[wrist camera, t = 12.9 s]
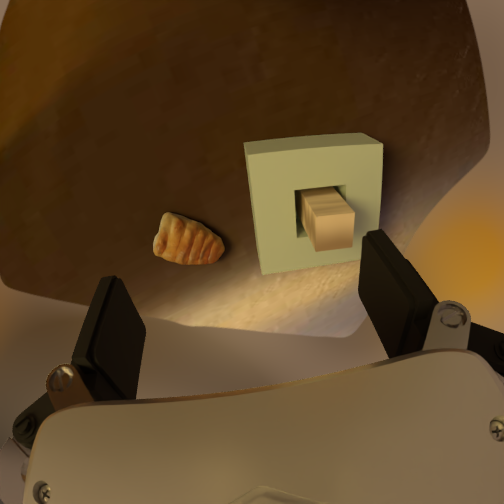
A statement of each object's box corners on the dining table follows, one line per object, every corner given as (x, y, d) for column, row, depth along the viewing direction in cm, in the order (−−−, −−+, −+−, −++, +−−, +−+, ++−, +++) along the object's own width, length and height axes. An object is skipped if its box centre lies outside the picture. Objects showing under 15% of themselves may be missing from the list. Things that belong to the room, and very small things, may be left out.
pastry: (231, 227, 42) (232, 241, 39) (215, 266, 45) (214, 283, 42) (163, 206, 40) (158, 219, 37) (152, 248, 43) (147, 264, 40)
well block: (243, 142, 36) (247, 155, 31) (361, 132, 36) (383, 143, 31) (257, 249, 44) (262, 274, 39) (359, 234, 44) (375, 257, 39)
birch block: (294, 181, 38) (316, 216, 30) (325, 178, 38) (354, 212, 30) (295, 210, 40) (315, 252, 32) (325, 207, 40) (352, 247, 32)
